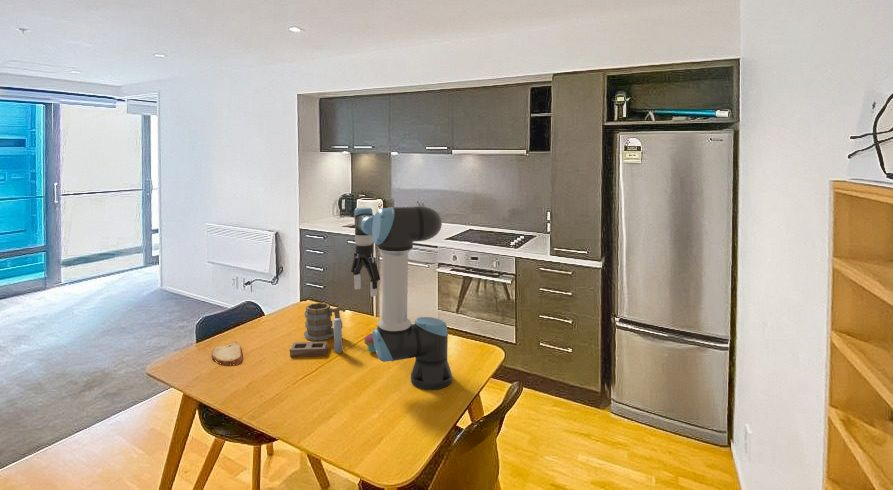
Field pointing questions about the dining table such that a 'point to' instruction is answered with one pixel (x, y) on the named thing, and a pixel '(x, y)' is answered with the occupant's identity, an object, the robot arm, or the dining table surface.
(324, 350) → the hole block
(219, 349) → the bread slice
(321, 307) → the tankard
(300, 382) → the dining table surface
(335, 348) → the dowel
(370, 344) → the cupcake
